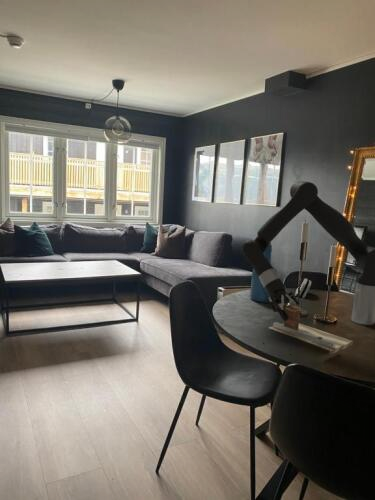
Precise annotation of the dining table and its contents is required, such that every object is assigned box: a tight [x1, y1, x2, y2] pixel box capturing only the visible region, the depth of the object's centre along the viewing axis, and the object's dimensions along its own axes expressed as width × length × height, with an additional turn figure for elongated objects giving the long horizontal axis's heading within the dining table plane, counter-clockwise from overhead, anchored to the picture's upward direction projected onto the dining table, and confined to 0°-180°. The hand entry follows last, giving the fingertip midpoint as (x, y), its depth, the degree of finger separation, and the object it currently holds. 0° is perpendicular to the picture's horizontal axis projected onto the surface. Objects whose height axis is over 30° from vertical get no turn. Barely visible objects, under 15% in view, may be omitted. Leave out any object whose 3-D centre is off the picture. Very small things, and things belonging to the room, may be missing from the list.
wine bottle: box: [249, 241, 279, 304], centre depth 193 cm, size 14×13×30 cm
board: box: [268, 322, 354, 356], centre depth 144 cm, size 16×26×2 cm, turn 41°
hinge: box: [294, 278, 312, 299], centre depth 212 cm, size 17×5×10 cm, turn 161°
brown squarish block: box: [283, 304, 302, 330], centre depth 147 cm, size 4×4×9 cm
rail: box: [272, 321, 335, 349], centre depth 140 cm, size 2×25×2 cm, turn 41°
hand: (293, 318), depth 147 cm, fingers open, 8 cm apart
